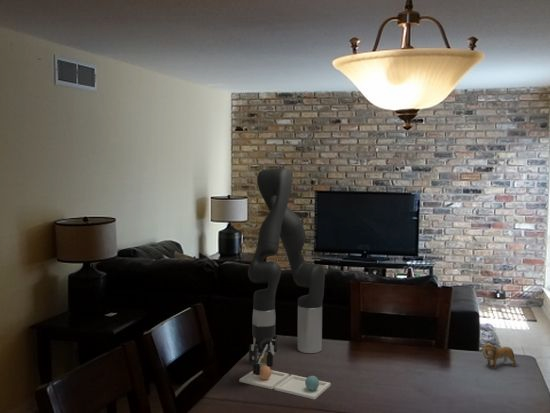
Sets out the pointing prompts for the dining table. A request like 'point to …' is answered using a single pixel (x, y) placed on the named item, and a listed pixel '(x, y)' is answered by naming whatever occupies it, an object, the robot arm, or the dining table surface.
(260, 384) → the tray
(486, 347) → the lion figurine
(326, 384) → the tray
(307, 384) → the ball teal
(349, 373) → the dining table surface
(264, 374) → the ball terracotta
